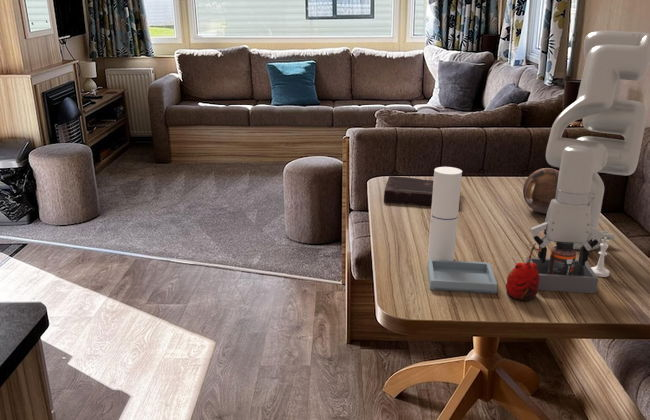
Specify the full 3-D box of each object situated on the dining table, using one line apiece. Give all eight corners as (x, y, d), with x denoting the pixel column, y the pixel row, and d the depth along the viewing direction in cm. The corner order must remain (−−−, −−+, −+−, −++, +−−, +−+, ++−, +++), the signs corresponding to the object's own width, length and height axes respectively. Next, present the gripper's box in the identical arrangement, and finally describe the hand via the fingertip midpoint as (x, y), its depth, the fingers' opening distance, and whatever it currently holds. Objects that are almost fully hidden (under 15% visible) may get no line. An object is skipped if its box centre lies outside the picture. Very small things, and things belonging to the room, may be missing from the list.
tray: (488, 271, 166) (489, 262, 166) (496, 293, 154) (497, 284, 153) (427, 267, 168) (428, 259, 167) (430, 289, 156) (430, 280, 155)
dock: (583, 274, 166) (585, 260, 164) (595, 293, 155) (598, 278, 154) (524, 270, 167) (526, 257, 166) (533, 289, 157) (535, 275, 155)
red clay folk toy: (530, 289, 157) (538, 233, 152) (542, 302, 150) (551, 244, 145) (500, 290, 156) (507, 234, 151) (512, 304, 150) (519, 245, 144)
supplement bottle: (573, 288, 158) (580, 246, 154) (548, 285, 159) (554, 244, 155) (569, 278, 163) (575, 237, 160) (545, 275, 165) (551, 235, 161)
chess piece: (607, 278, 164) (614, 242, 160) (587, 274, 166) (593, 238, 163) (610, 271, 167) (617, 236, 164) (591, 267, 170) (597, 232, 167)
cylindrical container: (438, 265, 170) (445, 175, 161) (422, 255, 176) (428, 168, 167) (459, 260, 173) (467, 172, 164) (443, 251, 179) (450, 165, 170)
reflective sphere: (557, 205, 218) (563, 163, 213) (575, 220, 204) (582, 175, 199) (514, 204, 218) (519, 162, 213) (529, 220, 204) (535, 175, 199)
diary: (457, 209, 214) (458, 195, 212) (383, 204, 218) (384, 190, 216) (457, 193, 231) (458, 180, 229) (388, 188, 235) (389, 175, 234)
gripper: (604, 194, 156) (592, 258, 162) (532, 190, 158) (523, 254, 163) (614, 203, 149) (602, 270, 155) (538, 199, 151) (529, 265, 156)
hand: (561, 262), depth 159 cm, fingers open, 9 cm apart
